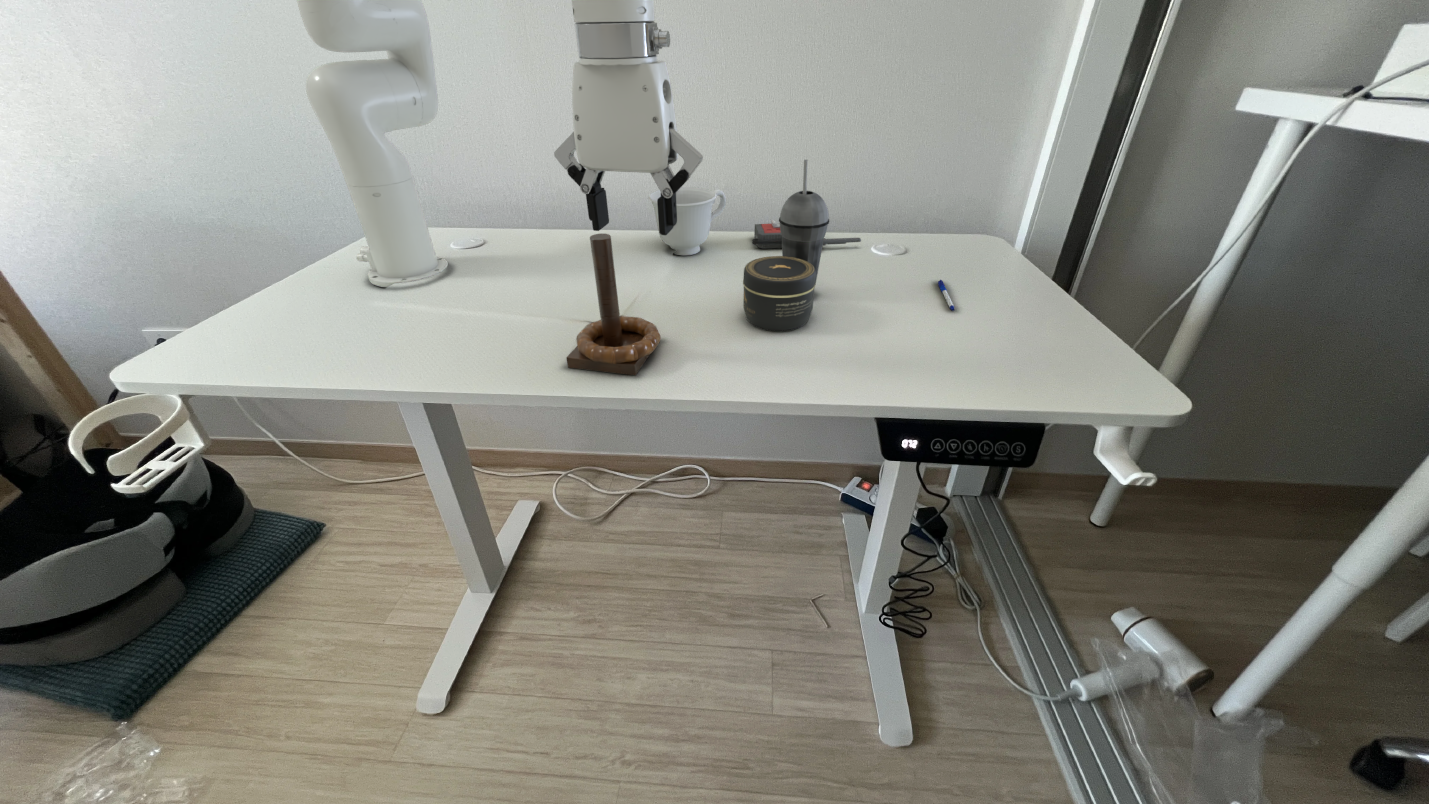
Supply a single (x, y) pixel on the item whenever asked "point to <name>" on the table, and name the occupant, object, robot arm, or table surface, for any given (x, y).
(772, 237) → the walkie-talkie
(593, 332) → the ring
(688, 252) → the teacup
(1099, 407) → the table surface
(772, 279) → the jar
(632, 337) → the post
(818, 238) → the beverage cup
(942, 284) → the blue marker pen
